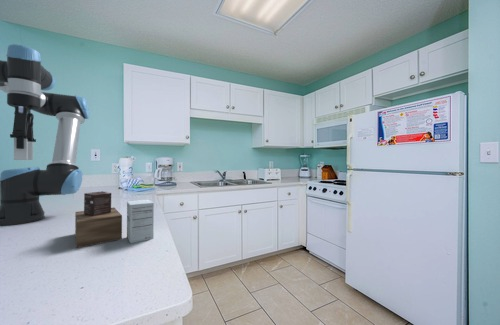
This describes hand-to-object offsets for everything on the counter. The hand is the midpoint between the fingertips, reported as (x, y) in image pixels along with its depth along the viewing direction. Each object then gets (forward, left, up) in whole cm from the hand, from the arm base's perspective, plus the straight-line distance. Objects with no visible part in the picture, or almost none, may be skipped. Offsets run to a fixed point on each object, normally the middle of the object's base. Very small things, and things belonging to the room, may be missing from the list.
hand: (24, 160), depth 69 cm
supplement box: (+21, +30, -27) cm, 45 cm away
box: (+10, +19, -19) cm, 29 cm away
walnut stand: (+10, +19, -27) cm, 34 cm away
